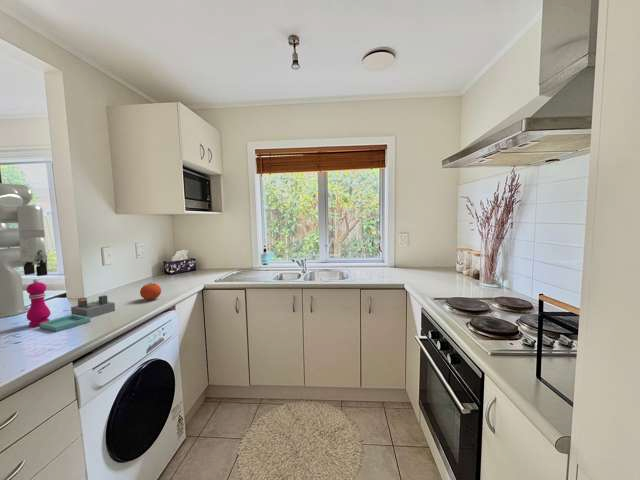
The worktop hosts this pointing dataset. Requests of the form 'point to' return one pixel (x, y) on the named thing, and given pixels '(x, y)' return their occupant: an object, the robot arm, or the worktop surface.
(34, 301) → the pepper mill
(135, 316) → the worktop surface
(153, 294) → the tomato
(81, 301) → the tagged breaker
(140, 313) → the worktop surface
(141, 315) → the worktop surface
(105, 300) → the block
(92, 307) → the breaker panel
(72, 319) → the tray
